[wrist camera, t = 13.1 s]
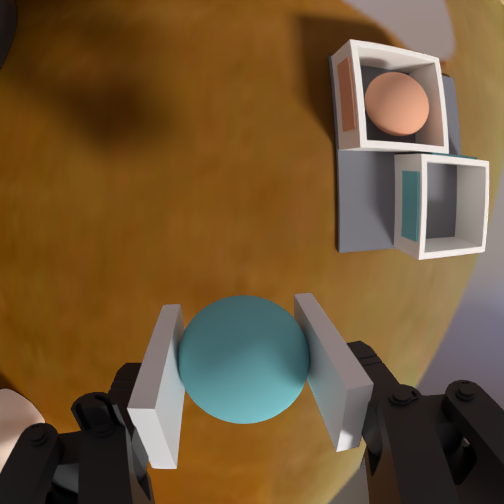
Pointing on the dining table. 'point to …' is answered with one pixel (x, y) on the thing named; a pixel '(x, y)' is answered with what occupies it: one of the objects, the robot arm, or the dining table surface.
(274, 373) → the ball teal
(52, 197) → the dining table surface
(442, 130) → the white square box
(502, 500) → the robot arm
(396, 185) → the white square bin
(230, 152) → the dining table surface
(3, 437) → the water bottle
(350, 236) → the mat
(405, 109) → the ball terracotta
